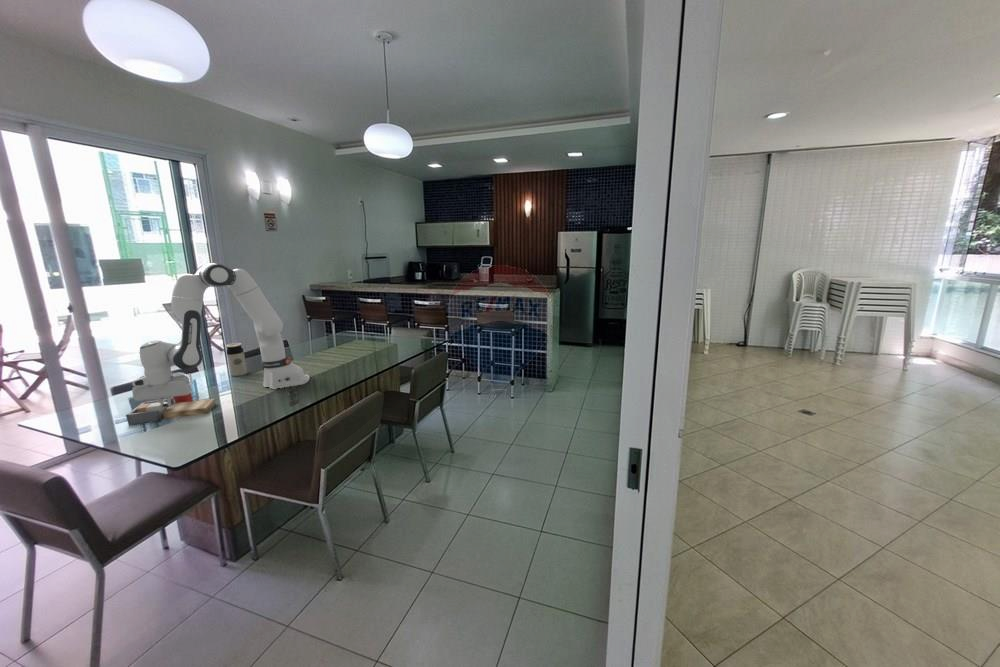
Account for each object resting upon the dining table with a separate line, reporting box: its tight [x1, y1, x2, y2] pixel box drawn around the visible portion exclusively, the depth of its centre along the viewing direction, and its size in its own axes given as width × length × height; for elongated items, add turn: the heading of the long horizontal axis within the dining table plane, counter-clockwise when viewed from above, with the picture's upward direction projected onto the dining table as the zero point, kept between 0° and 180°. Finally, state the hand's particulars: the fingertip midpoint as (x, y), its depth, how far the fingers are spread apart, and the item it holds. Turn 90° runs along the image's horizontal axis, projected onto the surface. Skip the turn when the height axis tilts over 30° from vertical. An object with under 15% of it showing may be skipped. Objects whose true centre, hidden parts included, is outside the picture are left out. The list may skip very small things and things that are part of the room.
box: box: [125, 398, 175, 427], centre depth 171 cm, size 11×14×5 cm
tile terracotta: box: [137, 403, 151, 413], centre depth 170 cm, size 5×5×3 cm
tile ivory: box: [146, 401, 166, 412], centre depth 171 cm, size 5×5×3 cm
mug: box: [172, 372, 193, 400], centre depth 193 cm, size 12×9×11 cm
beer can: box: [173, 392, 194, 403], centre depth 183 cm, size 7×7×12 cm
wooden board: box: [162, 398, 217, 420], centre depth 175 cm, size 16×11×3 cm
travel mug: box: [225, 342, 248, 377], centre depth 221 cm, size 8×8×18 cm
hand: (166, 406), depth 172 cm, fingers closed
